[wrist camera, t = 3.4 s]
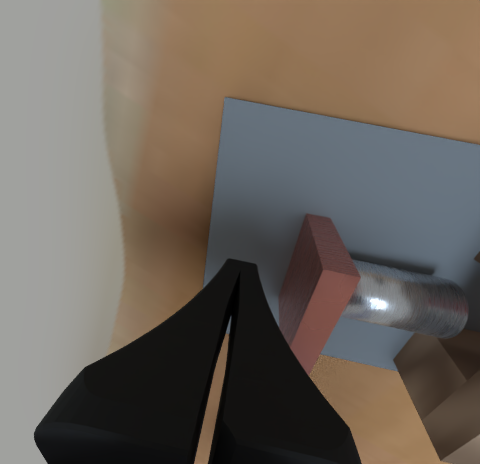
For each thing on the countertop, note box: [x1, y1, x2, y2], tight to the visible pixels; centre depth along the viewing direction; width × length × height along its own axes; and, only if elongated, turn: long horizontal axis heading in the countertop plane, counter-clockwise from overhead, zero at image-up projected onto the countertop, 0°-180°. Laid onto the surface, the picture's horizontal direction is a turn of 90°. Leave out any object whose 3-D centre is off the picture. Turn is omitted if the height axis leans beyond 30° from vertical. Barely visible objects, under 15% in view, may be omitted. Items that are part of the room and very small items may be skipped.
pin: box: [278, 213, 469, 376], centre depth 11 cm, size 7×6×4 cm
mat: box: [203, 97, 480, 371], centre depth 13 cm, size 14×20×1 cm
